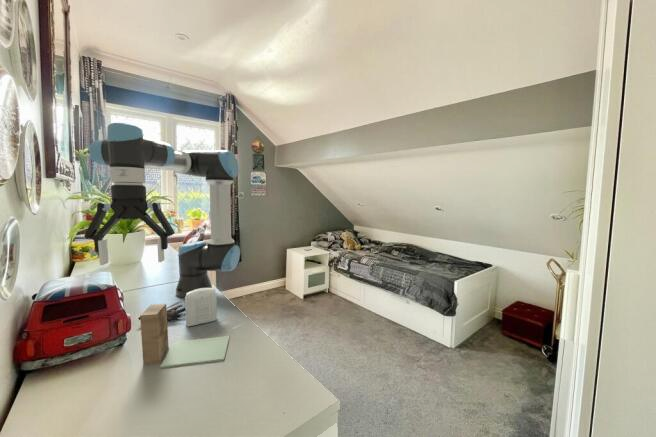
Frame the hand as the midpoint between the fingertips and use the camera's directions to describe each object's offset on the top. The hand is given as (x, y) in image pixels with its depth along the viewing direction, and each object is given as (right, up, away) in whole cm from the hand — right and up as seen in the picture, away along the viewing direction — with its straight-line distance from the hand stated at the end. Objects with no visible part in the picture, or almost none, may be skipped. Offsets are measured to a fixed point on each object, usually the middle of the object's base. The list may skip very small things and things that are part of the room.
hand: (133, 262), depth 74 cm
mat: (+15, -27, +6) cm, 32 cm away
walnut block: (+4, -27, +3) cm, 28 cm away
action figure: (-5, -26, +25) cm, 36 cm away
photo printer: (+8, -25, +23) cm, 35 cm away
